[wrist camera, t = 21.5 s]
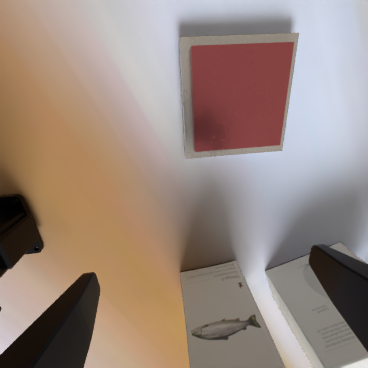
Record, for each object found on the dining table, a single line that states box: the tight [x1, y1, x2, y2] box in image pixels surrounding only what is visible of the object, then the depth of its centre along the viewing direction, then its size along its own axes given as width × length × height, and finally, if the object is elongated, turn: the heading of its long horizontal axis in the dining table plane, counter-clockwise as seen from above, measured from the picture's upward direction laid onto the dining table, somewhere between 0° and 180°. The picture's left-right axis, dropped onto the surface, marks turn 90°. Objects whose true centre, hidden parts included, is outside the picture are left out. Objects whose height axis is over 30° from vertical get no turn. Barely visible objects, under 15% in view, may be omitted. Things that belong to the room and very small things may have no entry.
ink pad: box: [179, 33, 299, 159], centre depth 16 cm, size 9×9×2 cm
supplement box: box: [180, 261, 285, 368], centre depth 20 cm, size 7×7×13 cm
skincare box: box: [265, 242, 368, 368], centre depth 22 cm, size 10×6×10 cm, turn 112°
